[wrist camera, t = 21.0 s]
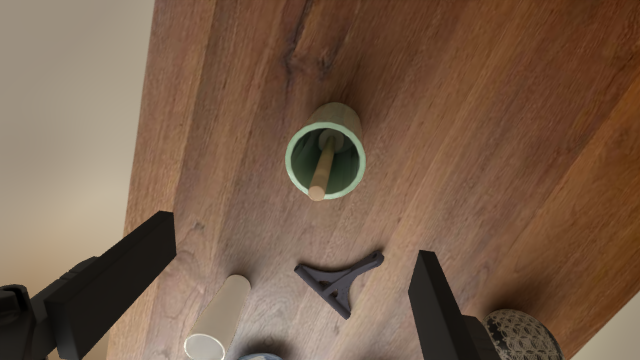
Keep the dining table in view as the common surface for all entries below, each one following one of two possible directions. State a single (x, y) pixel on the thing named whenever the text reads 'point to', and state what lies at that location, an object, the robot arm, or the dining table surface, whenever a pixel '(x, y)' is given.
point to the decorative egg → (521, 336)
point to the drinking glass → (218, 321)
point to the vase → (308, 150)
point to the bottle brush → (325, 162)
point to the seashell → (260, 357)
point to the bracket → (338, 281)
